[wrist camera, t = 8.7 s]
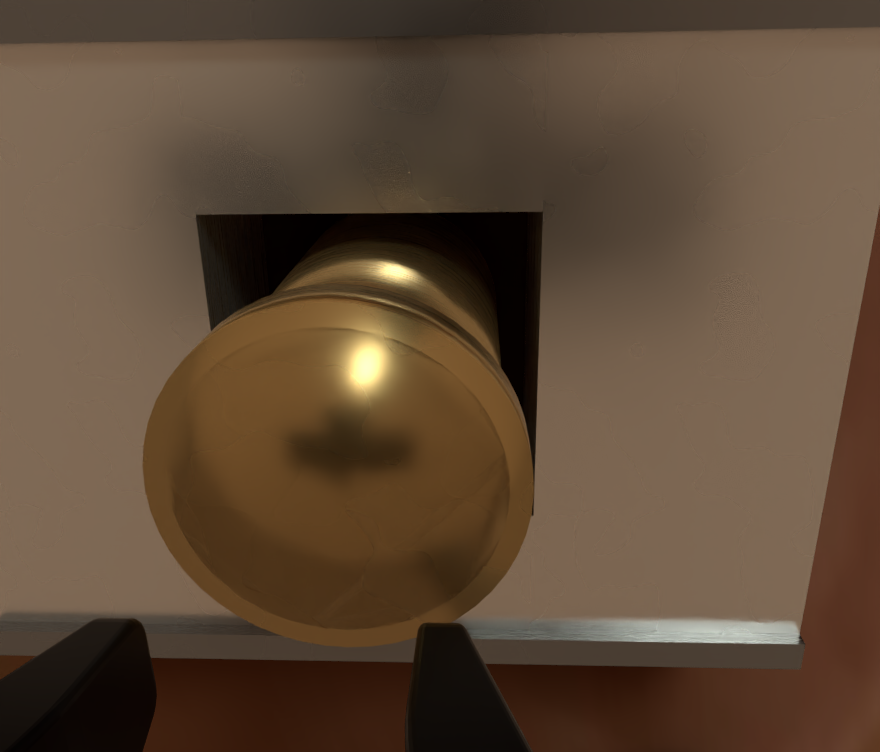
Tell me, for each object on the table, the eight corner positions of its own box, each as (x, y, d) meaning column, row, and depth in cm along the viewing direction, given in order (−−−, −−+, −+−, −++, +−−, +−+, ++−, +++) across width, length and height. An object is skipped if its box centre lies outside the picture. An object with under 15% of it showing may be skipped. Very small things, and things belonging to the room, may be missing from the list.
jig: (812, -3, 15) (932, -22, 11) (734, 542, 20) (800, 669, 16) (-21, 14, 16) (-189, 3, 12) (89, 536, 20) (-5, 654, 16)
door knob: (512, 189, 17) (539, 301, 9) (508, 409, 18) (529, 650, 11) (272, 191, 17) (112, 302, 9) (293, 409, 19) (171, 644, 11)
